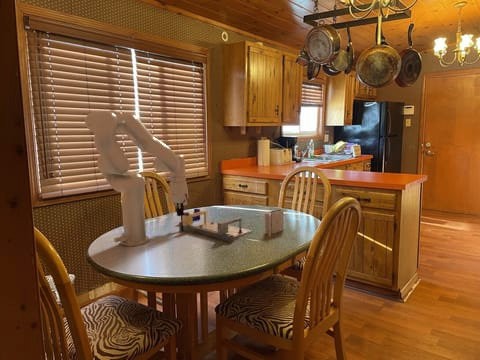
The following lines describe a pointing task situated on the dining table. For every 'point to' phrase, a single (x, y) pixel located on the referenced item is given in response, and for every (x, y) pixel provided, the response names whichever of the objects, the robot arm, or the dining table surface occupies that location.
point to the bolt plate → (231, 229)
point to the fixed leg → (224, 225)
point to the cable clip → (194, 216)
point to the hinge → (273, 221)
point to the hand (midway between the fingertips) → (180, 215)
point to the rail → (206, 233)
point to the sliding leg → (188, 218)
